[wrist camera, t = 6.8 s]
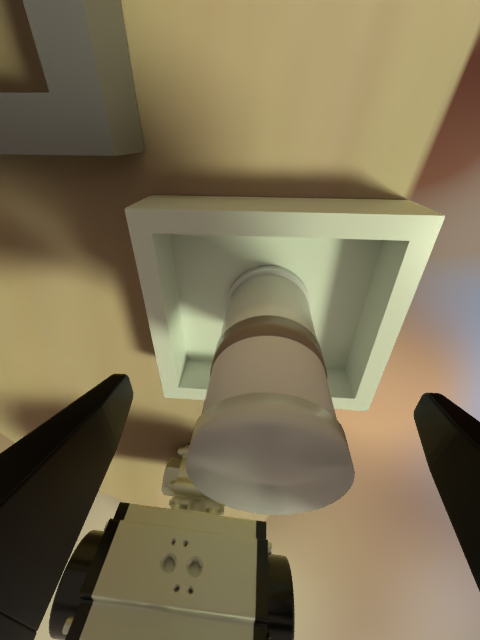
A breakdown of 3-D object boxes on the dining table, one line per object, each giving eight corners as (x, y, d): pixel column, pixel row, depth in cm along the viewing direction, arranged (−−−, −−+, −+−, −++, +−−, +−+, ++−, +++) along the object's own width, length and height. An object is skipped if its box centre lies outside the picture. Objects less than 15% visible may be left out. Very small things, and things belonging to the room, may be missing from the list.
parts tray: (177, 363, 16) (164, 397, 14) (151, 195, 11) (124, 208, 9) (353, 373, 16) (368, 411, 14) (409, 199, 11) (445, 215, 9)
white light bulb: (227, 333, 14) (192, 507, 8) (226, 263, 12) (176, 417, 5) (303, 337, 14) (335, 520, 7) (314, 266, 12) (376, 432, 5)
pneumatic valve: (274, 482, 23) (281, 747, 13) (135, 463, 23) (36, 712, 13) (287, 443, 20) (309, 751, 10) (127, 422, 20) (-11, 705, 10)
